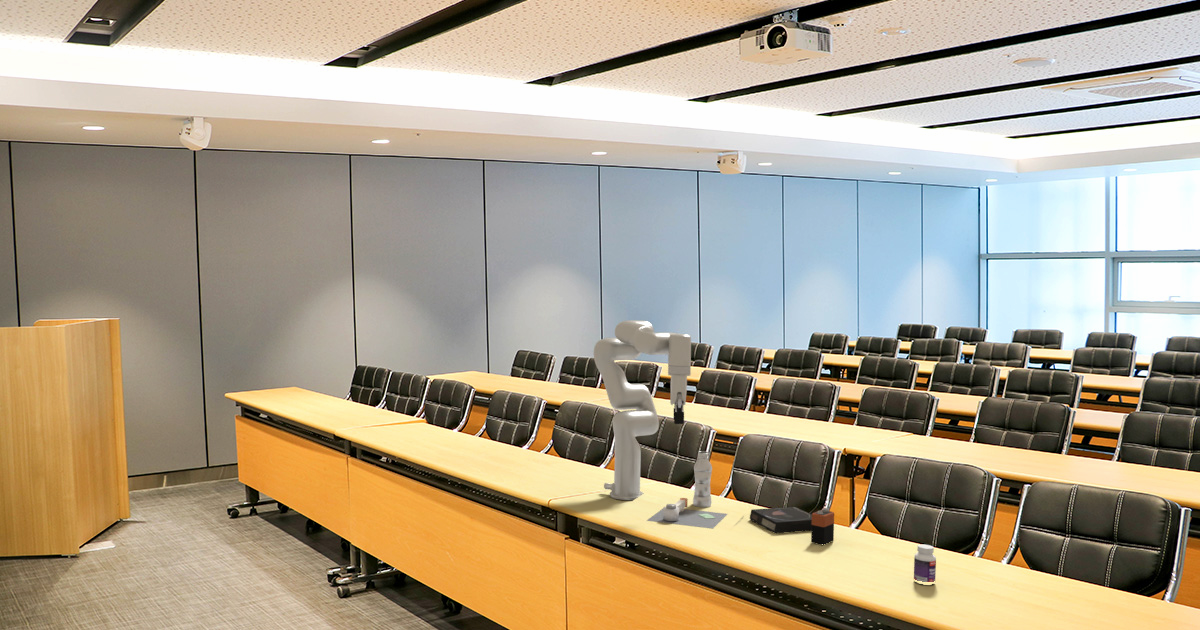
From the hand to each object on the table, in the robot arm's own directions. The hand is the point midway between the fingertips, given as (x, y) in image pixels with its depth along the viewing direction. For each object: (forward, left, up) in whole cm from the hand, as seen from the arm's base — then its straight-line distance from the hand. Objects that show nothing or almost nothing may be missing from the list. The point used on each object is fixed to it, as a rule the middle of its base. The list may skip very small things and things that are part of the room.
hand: (678, 421), depth 296 cm
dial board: (+5, -5, -32) cm, 33 cm away
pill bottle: (+79, -37, -32) cm, 93 cm away
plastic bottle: (+5, +13, -32) cm, 35 cm away
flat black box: (+35, +5, -33) cm, 48 cm away
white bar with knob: (+1, -4, -30) cm, 30 cm away
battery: (+49, -10, -32) cm, 60 cm away
